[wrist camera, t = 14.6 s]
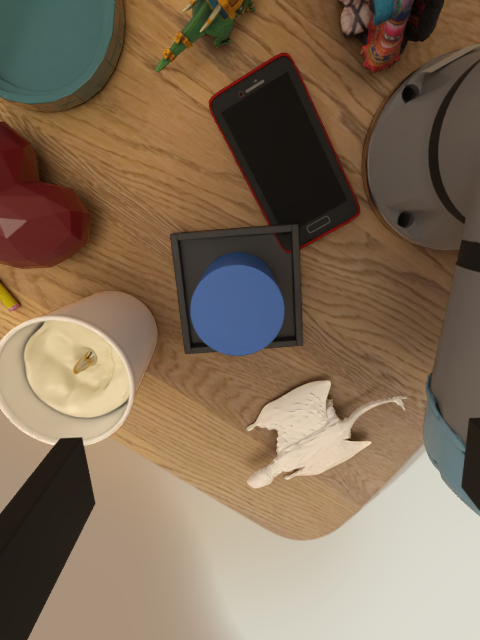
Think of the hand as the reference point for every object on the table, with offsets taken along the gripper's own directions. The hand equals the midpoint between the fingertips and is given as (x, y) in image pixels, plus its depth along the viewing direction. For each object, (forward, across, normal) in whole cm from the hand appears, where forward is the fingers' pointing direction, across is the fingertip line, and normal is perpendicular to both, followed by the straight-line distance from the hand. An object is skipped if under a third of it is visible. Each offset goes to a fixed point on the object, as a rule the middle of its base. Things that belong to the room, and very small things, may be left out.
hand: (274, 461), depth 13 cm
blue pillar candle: (+24, +2, -1) cm, 24 cm away
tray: (+25, +1, -1) cm, 25 cm away
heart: (+25, +20, -10) cm, 33 cm away
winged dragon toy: (+25, -6, +14) cm, 29 cm away
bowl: (+25, +16, -24) cm, 38 cm away
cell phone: (+25, -3, -12) cm, 28 cm away
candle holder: (+25, +14, +2) cm, 29 cm away
